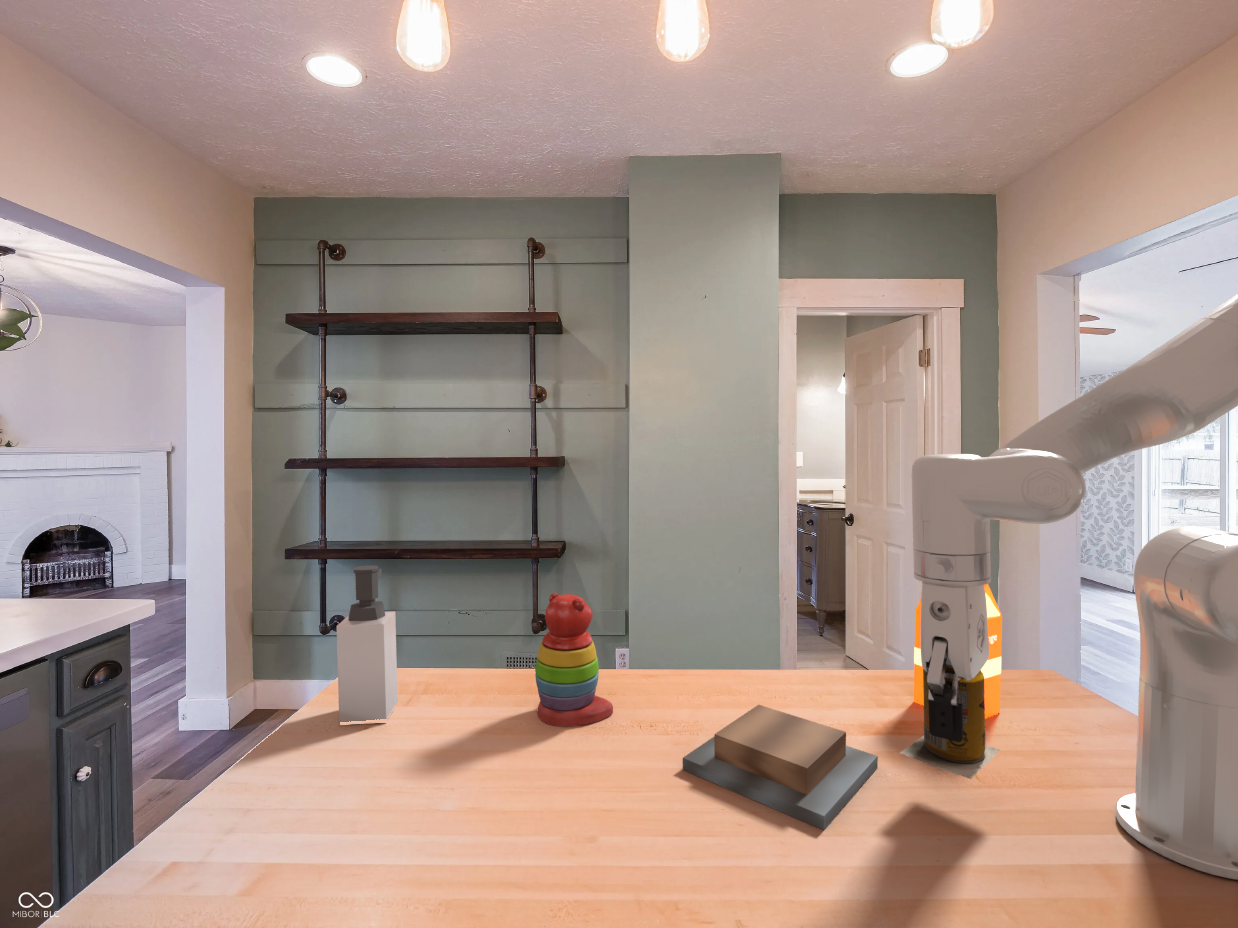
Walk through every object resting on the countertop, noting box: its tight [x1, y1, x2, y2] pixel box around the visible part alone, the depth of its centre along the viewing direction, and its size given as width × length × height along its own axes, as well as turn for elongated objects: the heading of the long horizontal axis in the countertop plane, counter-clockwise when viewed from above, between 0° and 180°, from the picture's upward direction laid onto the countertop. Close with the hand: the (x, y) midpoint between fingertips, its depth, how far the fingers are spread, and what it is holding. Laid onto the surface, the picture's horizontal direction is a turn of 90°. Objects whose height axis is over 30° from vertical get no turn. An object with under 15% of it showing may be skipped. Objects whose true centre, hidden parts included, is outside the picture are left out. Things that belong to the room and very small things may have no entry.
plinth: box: [682, 704, 879, 831], centre depth 77 cm, size 18×16×4 cm
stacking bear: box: [534, 592, 614, 728], centre depth 92 cm, size 11×10×18 cm
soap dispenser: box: [336, 565, 399, 723], centre depth 93 cm, size 6×9×22 cm
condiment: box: [899, 658, 1001, 780], centre depth 69 cm, size 7×8×12 cm
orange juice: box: [913, 584, 1003, 720], centre depth 93 cm, size 8×9×20 cm
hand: (954, 724), depth 70 cm, fingers closed on condiment, 6 cm apart
